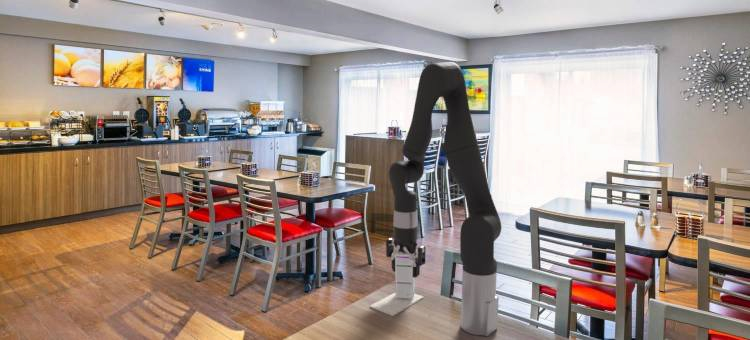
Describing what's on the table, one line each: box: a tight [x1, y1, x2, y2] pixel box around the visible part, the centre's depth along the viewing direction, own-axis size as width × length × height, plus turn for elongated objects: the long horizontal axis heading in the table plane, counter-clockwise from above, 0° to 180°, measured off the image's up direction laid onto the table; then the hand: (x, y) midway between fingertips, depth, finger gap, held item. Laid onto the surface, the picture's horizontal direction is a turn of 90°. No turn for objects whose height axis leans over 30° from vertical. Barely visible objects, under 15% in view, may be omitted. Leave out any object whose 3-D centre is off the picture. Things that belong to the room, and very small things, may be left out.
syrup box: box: [394, 252, 416, 299], centre depth 150 cm, size 6×6×14 cm
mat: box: [369, 291, 425, 317], centre depth 148 cm, size 9×16×1 cm, turn 140°
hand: (405, 273), depth 150 cm, fingers closed on syrup box, 7 cm apart
